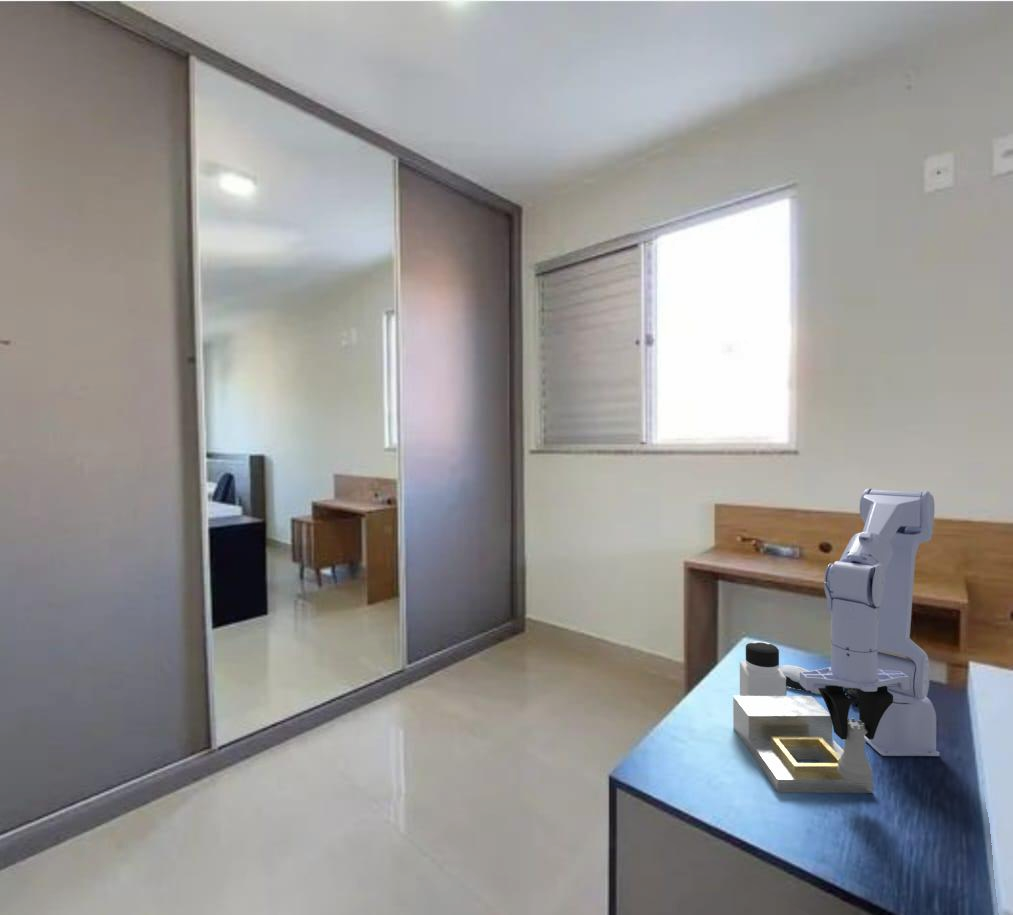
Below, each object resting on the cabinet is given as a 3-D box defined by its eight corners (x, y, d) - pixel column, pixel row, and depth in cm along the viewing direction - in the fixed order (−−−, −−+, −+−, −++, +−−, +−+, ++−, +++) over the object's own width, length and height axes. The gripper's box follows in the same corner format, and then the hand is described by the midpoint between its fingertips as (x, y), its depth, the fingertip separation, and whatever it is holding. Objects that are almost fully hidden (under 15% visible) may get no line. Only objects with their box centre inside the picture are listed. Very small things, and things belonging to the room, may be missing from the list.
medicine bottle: (787, 714, 104) (786, 653, 104) (747, 711, 106) (747, 650, 105) (776, 696, 111) (776, 639, 111) (739, 693, 113) (739, 637, 112)
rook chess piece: (872, 789, 76) (872, 733, 76) (835, 778, 79) (835, 724, 78) (874, 773, 80) (873, 720, 79) (838, 763, 82) (837, 711, 82)
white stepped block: (810, 727, 99) (810, 695, 99) (872, 792, 81) (873, 754, 81) (733, 727, 100) (733, 696, 100) (777, 792, 82) (777, 753, 82)
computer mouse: (768, 671, 124) (768, 654, 124) (864, 691, 113) (864, 672, 113) (761, 688, 115) (761, 670, 115) (862, 711, 105) (862, 691, 105)
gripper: (817, 656, 75) (817, 751, 75) (925, 655, 74) (924, 751, 75) (792, 637, 82) (792, 724, 83) (890, 636, 81) (890, 724, 82)
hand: (853, 735), depth 79 cm, fingers closed on rook chess piece, 3 cm apart
